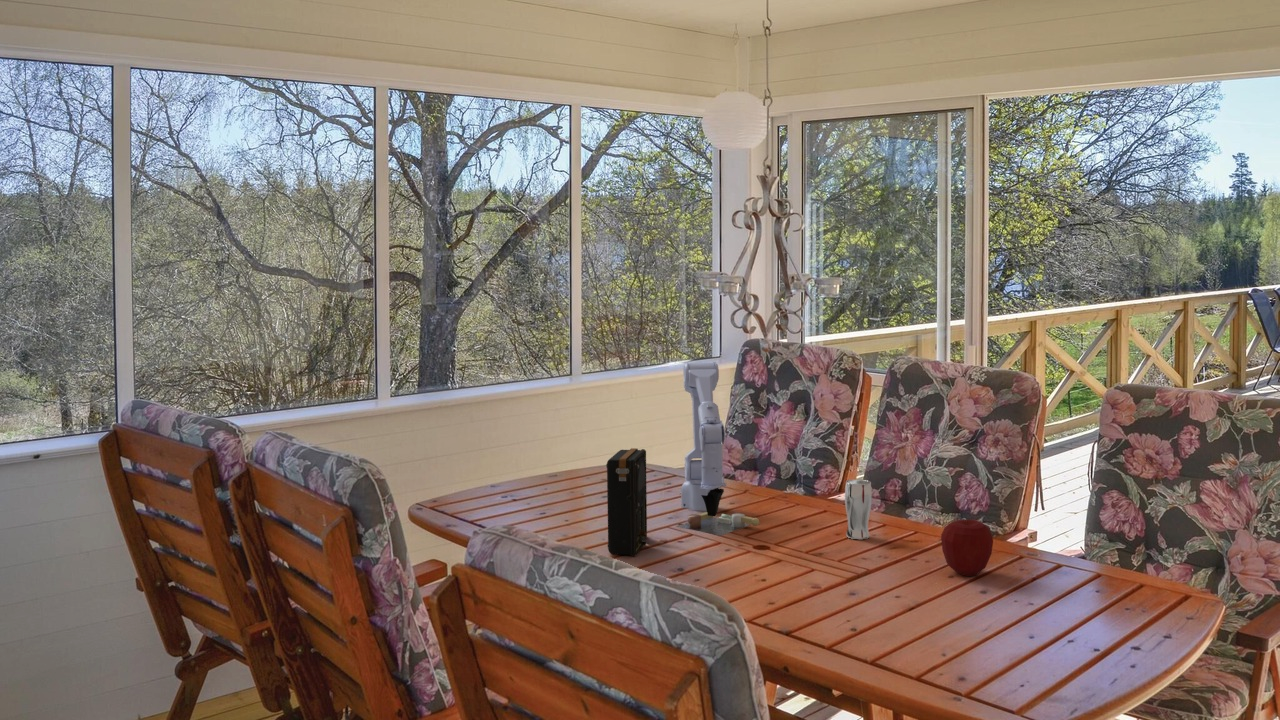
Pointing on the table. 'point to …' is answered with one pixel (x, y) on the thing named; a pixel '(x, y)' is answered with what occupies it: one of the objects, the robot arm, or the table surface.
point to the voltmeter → (627, 501)
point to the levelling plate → (713, 527)
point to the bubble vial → (725, 519)
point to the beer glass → (858, 508)
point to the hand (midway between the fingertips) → (712, 515)
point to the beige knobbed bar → (697, 519)
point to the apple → (967, 546)
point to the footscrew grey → (743, 520)
